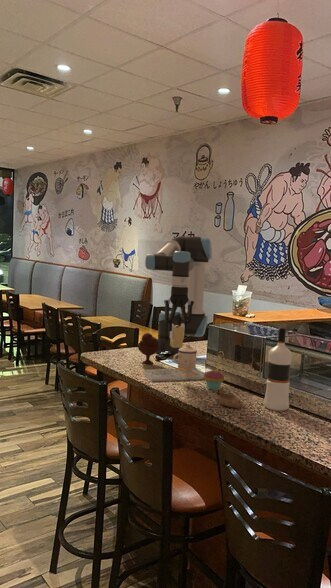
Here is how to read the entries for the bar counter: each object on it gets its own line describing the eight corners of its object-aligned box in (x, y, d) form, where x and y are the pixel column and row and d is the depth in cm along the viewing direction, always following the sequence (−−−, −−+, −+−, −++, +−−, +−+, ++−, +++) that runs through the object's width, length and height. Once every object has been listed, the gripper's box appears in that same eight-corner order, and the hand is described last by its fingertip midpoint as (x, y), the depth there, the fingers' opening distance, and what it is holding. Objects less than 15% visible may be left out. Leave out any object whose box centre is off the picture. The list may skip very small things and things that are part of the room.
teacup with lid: (189, 365, 232) (191, 342, 231) (199, 369, 224) (201, 346, 223) (168, 366, 226) (170, 343, 225) (177, 371, 218) (179, 346, 217)
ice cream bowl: (135, 365, 225) (136, 334, 224) (139, 360, 236) (140, 331, 235) (156, 367, 224) (158, 336, 223) (159, 361, 235) (161, 332, 234)
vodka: (262, 409, 170) (268, 328, 168) (264, 402, 179) (270, 325, 177) (288, 413, 167) (295, 331, 165) (289, 405, 176) (296, 327, 174)
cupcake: (219, 385, 199) (221, 357, 198) (226, 390, 191) (228, 362, 190) (200, 385, 197) (202, 357, 196) (206, 391, 189) (208, 362, 188)
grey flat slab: (143, 373, 210) (143, 369, 210) (194, 372, 218) (194, 367, 218) (151, 381, 199) (151, 376, 198) (204, 379, 207) (205, 374, 207)
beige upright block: (169, 345, 209) (171, 324, 208) (179, 345, 210) (180, 324, 210) (173, 347, 205) (174, 326, 204) (182, 347, 206) (183, 326, 205)
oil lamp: (247, 409, 169) (248, 396, 169) (230, 411, 166) (231, 398, 165) (225, 398, 181) (226, 386, 180) (209, 400, 177) (210, 387, 177)
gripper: (163, 286, 199) (160, 340, 201) (201, 287, 204) (198, 340, 206) (158, 284, 206) (155, 336, 208) (195, 286, 211) (191, 336, 214)
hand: (176, 338), depth 207 cm, fingers closed on beige upright block, 4 cm apart
